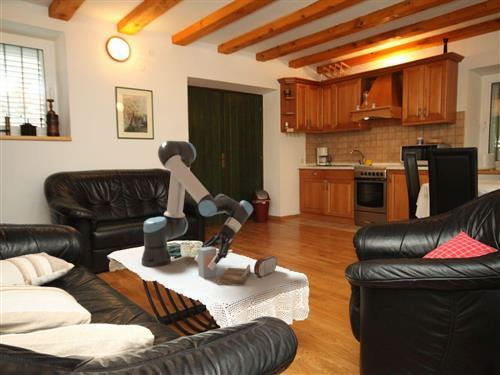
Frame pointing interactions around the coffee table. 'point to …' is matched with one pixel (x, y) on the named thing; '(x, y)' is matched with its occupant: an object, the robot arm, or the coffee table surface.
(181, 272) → the coffee table surface
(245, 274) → the price rail
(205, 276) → the carton
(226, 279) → the shelf board
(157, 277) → the coffee table surface
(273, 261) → the tin
